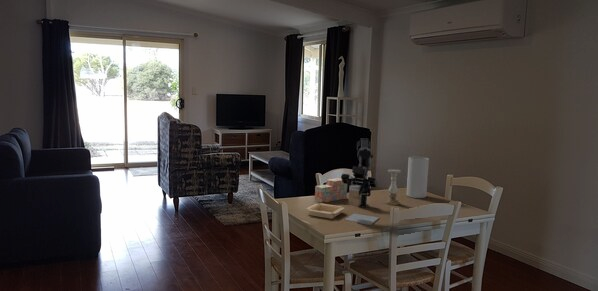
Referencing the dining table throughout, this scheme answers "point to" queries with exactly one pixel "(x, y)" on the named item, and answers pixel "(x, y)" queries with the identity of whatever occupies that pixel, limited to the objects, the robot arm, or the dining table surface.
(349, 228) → the dining table surface
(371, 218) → the rubber mat
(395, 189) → the candle holder
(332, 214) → the carton
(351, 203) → the grey rectangular block
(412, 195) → the cylinder vase
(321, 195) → the stack of blocks
